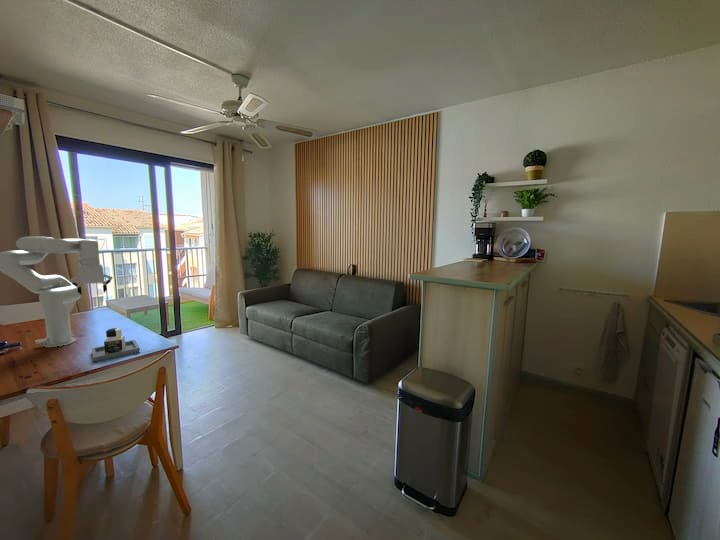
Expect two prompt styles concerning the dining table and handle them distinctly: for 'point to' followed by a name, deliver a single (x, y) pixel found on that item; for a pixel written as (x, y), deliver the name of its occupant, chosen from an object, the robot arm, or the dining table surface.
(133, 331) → the dining table surface
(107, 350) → the medicine bottle
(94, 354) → the grey tray
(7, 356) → the dining table surface
